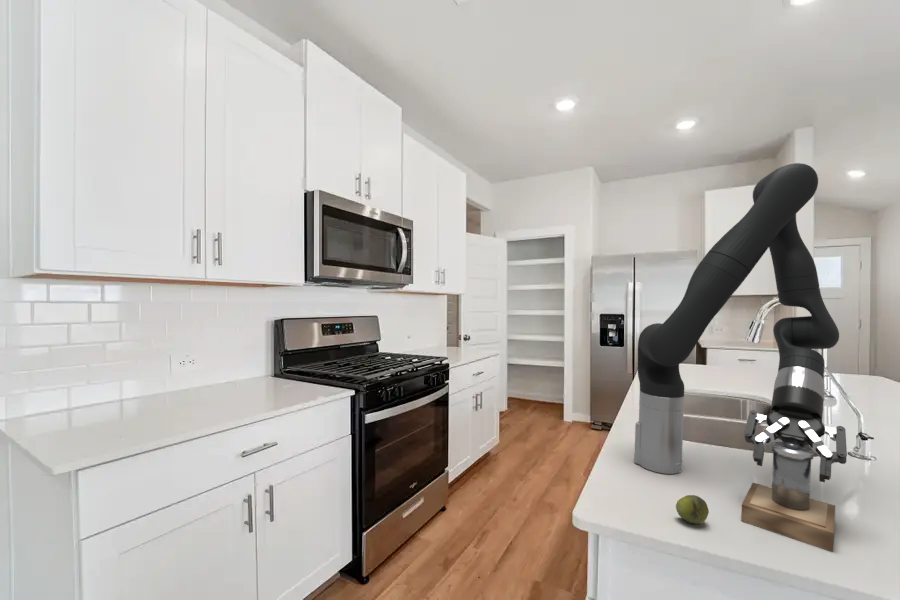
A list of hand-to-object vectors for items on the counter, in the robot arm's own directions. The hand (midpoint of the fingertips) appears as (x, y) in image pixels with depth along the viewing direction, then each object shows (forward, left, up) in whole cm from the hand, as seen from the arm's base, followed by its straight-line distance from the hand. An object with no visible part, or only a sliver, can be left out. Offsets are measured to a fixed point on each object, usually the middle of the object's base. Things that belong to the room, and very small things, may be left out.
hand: (789, 471), depth 72 cm
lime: (-12, -12, -10) cm, 19 cm away
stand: (0, +1, -9) cm, 10 cm away
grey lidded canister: (0, +2, -6) cm, 6 cm away
